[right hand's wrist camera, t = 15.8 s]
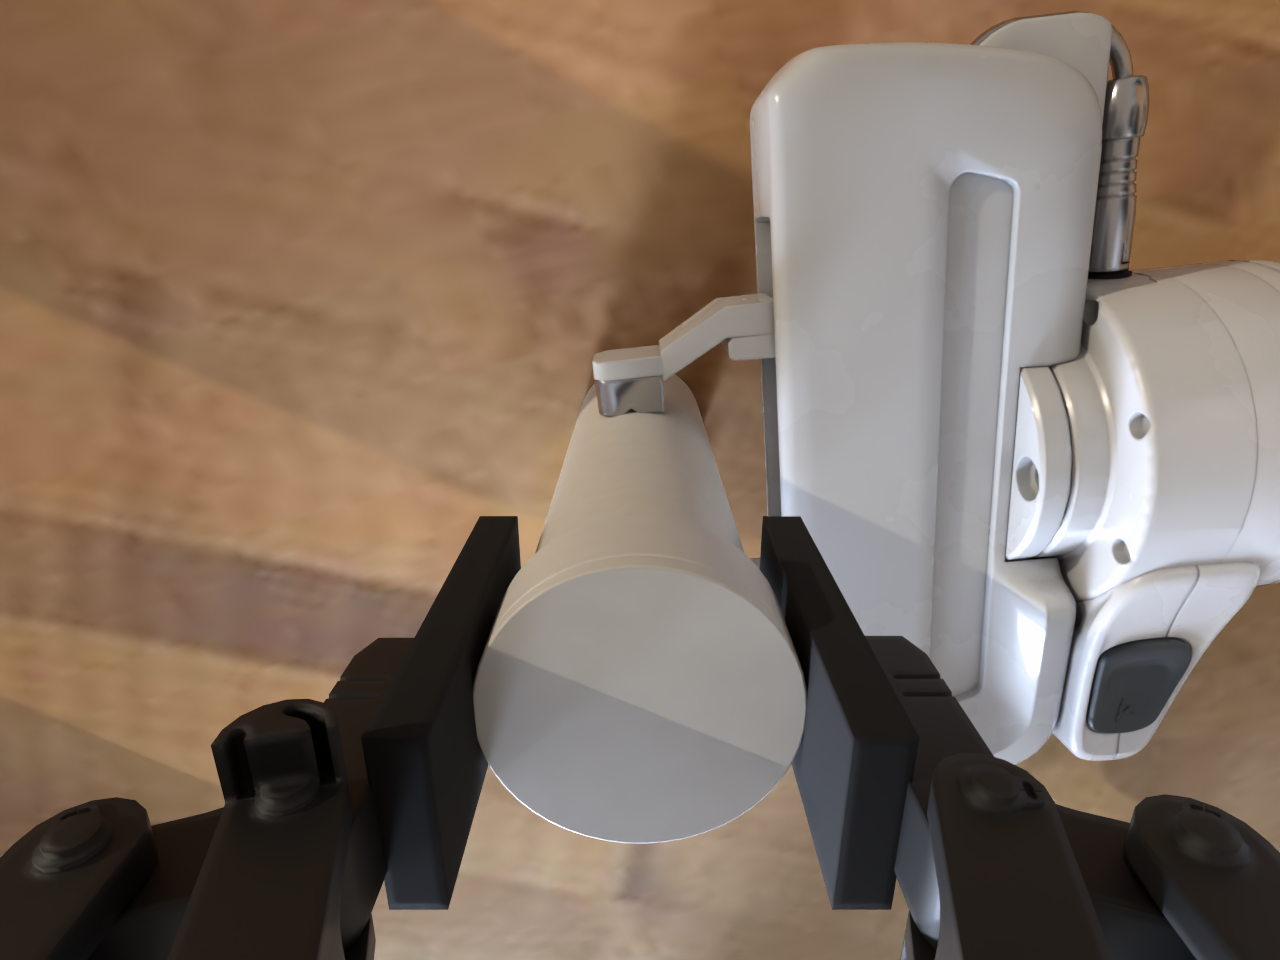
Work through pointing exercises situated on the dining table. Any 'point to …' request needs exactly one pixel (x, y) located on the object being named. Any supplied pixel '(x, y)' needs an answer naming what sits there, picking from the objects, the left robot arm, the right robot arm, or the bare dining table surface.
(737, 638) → the white round canister
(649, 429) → the white cylinder
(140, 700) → the dining table surface
